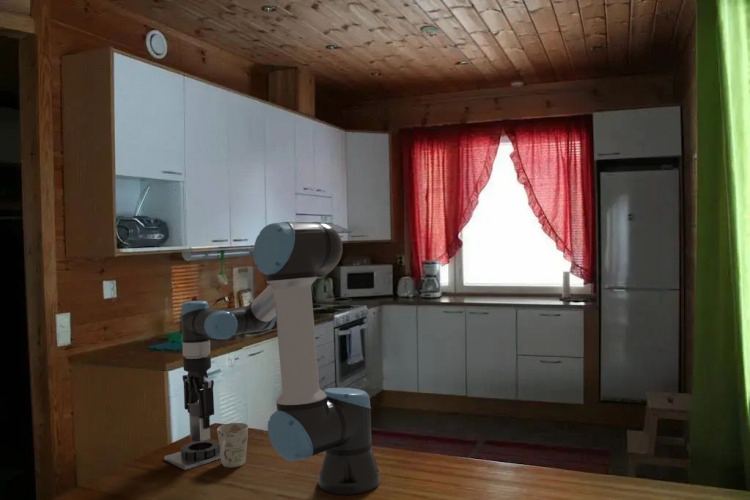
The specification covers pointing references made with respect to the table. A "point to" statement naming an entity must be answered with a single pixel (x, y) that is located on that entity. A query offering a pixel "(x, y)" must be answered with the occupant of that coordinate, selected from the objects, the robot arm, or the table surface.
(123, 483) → the table surface
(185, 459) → the mount
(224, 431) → the mug
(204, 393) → the robot arm
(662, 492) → the table surface
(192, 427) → the lens
